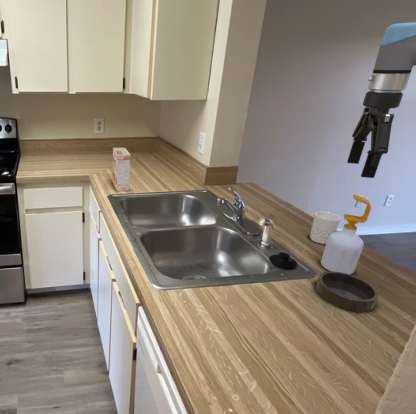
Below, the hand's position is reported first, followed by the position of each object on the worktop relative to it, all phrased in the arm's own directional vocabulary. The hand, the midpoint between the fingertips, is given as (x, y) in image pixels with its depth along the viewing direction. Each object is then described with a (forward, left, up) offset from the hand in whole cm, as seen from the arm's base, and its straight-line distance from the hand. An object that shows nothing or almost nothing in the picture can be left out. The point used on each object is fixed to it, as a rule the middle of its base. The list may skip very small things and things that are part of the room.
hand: (359, 169), depth 94 cm
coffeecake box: (+89, -46, -33) cm, 105 cm away
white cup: (-1, -20, -33) cm, 39 cm away
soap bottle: (-3, -1, -33) cm, 33 cm away
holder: (-2, +15, -33) cm, 36 cm away
